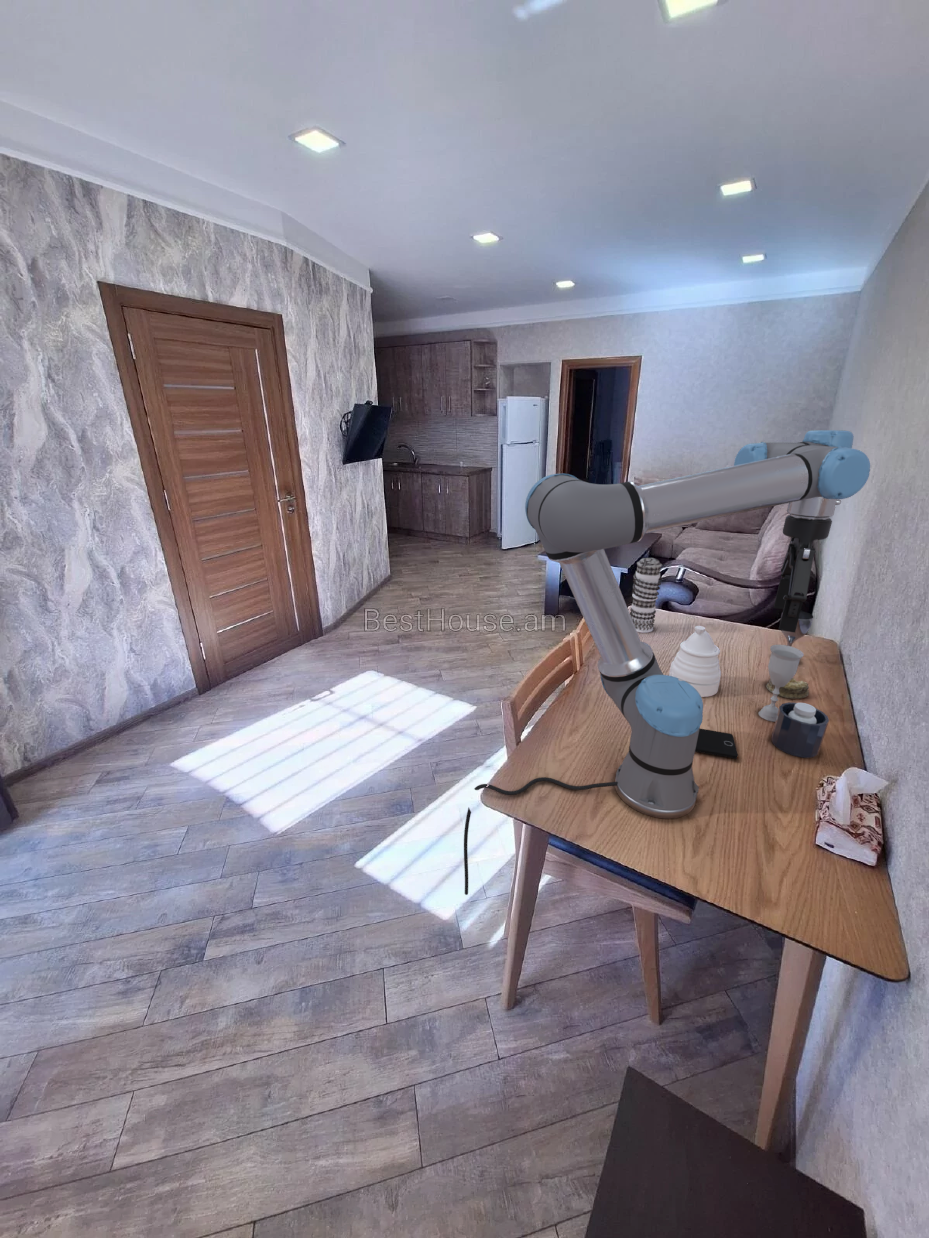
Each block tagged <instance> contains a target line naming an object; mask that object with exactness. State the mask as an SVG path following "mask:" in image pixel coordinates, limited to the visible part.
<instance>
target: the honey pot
mask: <svg viewBox="0 0 929 1238" xmlns="http://www.w3.org/2000/svg"><path fill="white" fill-rule="evenodd" d="M679 648H680V649H679V650H678V651H677V652H676V656H674V659H673V660H672V661H671V662H670V668H669V673H668V676H673V677H676V678H678V679H679V681H685V682H687V683H689V684H690V685H692V686H693V687H694V688H695V689H696V690H697V691H698V693H699V694H700V696H701V698H707V697H711V696H714V695H716V694H717V693H718V691H719V686H720V681H721V677H722V671H721V669H720V660H719V655H720V654H721V650H720V648H719V647H718V646H717V645H716V644H715V642H714V640H713V638H712V636H711V634H710V633H709V632H708V631H707V630H706V626H702V625H696V626H694V632H693V633H692V634H690V635H689V636H688V638H687V639H685V640H683V641H682V642H681V643H680V645H679Z"/></svg>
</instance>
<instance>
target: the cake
mask: <svg viewBox="0 0 929 1238" xmlns="http://www.w3.org/2000/svg"><path fill="white" fill-rule="evenodd" d="M765 687H766V689H767V690H768V691H769V692H770V693H772V694H773V692H772V691H774V689H775V685H773V684H772V682H771V678H770V677H769V680H768V682H767V683H766V685H765ZM809 688H810V687H809V683H808V682H807V681H804V680H796V678H794V677H793V678H792V679H791V680H790V681H789V682H788V683H787V684H786V685H785V686H784V687H780V688H779V693H780V694H778V696H779V697H782V698H784V699H785V698H787V699H791V700H793V699H795V700H796V699H797V700H799V699H804V698H806V697H808V696H809V693H810V692H809V691H810V690H809Z"/></svg>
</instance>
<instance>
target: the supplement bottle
mask: <svg viewBox="0 0 929 1238" xmlns="http://www.w3.org/2000/svg"><path fill="white" fill-rule="evenodd" d="M795 703H796V704H795V706H794V710H793V711H791V712H790V713H789V714H788V716H789V717H791V718H793V719H795V720H798V721H801V722H805V723H809V724H816V722H817V720H816V718H815V717H814V715H815V713H816V708H817V707H815V706H813V705H812V704H809V703H805V702H795Z"/></svg>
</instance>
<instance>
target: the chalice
mask: <svg viewBox="0 0 929 1238" xmlns="http://www.w3.org/2000/svg"><path fill="white" fill-rule="evenodd" d="M769 647H770V648H769V649H770V652H771V653H770V657H769V660H768V665H767V668H768V675H769V679H770V678H771V682H772V684H773V685H775V689H774V691H772V692H773V693H772V692H771V693H772V696H771V697H770V698H769V699H770V704H766V705H764V706H763V707H762V708H761V709H760V710H759V711H758V716H759V717H760V718H762V719H763V720H766V721H768V722H774V723H775V721H776V718H777V714H778V710H779V707H777V706H776V703H777V702H778V701H779V699H778V696H779V695H778V694H780V693H779V688H780V687H784V686H785V685H786V684H787V683H788V682H789V681H790V680H791V679H792V678H794V677H795V675H796V674H797V671H798V668H799V665H800V661H801V659H802V658H803V657H804V652H803V651H802V650H801V649H798V648H797V647H794V646H787V645H786V644H772V645H771V646H769Z"/></svg>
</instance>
